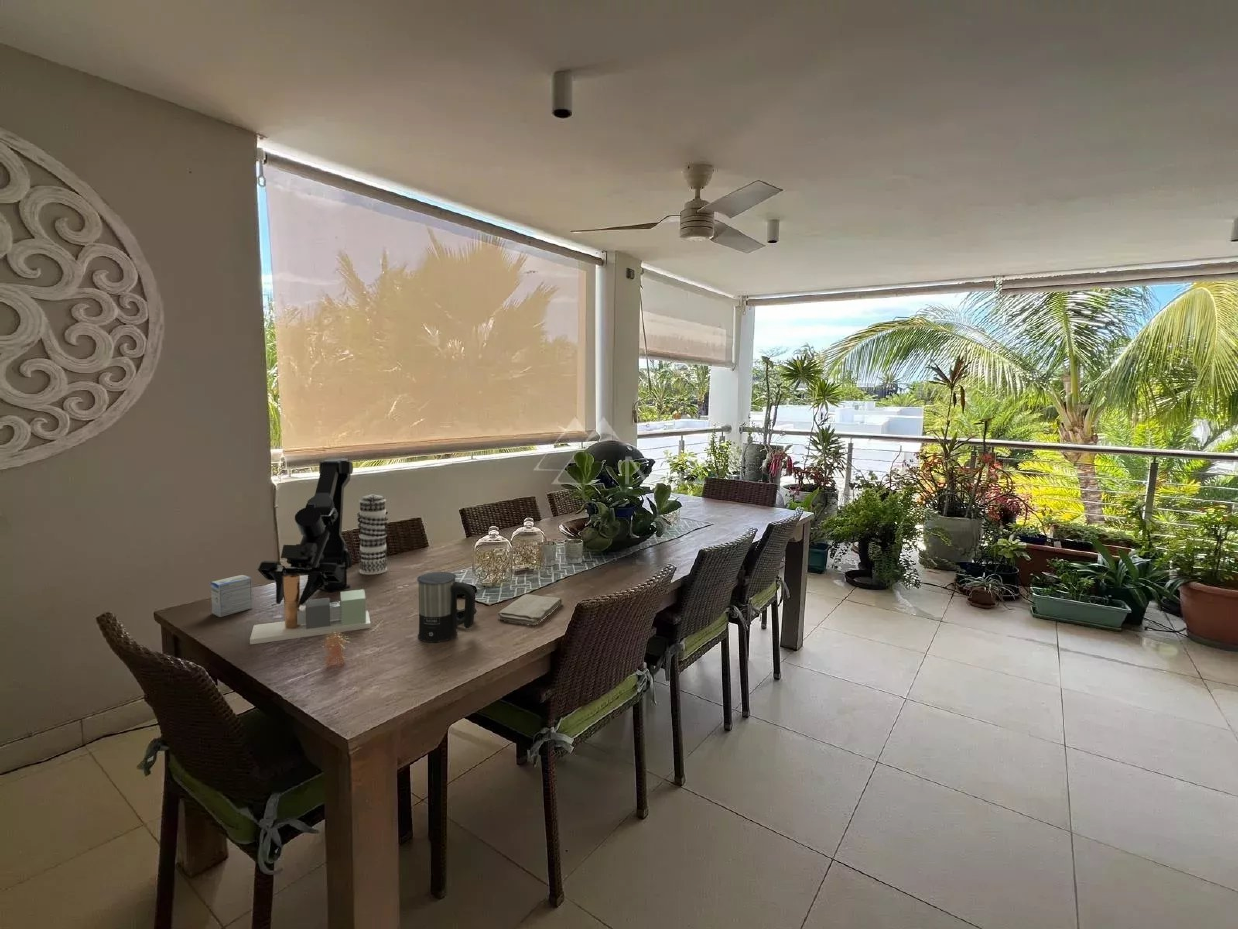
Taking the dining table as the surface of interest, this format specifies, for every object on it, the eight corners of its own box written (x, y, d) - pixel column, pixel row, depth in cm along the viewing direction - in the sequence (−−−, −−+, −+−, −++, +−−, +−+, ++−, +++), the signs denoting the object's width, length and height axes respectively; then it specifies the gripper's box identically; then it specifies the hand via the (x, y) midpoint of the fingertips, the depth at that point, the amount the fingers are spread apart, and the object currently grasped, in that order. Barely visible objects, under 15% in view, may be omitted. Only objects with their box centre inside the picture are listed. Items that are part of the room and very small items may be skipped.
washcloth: (495, 622, 150) (495, 611, 149) (524, 600, 167) (524, 590, 167) (537, 629, 147) (537, 617, 146) (562, 605, 164) (562, 595, 164)
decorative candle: (359, 567, 190) (358, 493, 187) (389, 565, 193) (388, 493, 190) (356, 575, 181) (354, 498, 178) (387, 574, 184) (386, 498, 181)
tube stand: (249, 644, 131) (248, 617, 130) (254, 629, 139) (253, 603, 138) (370, 627, 142) (370, 602, 142) (368, 615, 150) (367, 591, 149)
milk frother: (415, 644, 134) (415, 584, 132) (420, 619, 149) (420, 564, 147) (477, 640, 138) (478, 581, 136) (476, 615, 153) (476, 562, 151)
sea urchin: (292, 668, 121) (291, 634, 120) (346, 648, 131) (345, 617, 130) (323, 685, 114) (322, 649, 113) (377, 663, 124) (377, 630, 123)
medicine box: (244, 605, 154) (243, 574, 153) (253, 608, 152) (251, 577, 151) (211, 614, 147) (210, 581, 146) (220, 618, 145) (218, 585, 144)
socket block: (341, 625, 140) (341, 601, 139) (340, 615, 146) (340, 591, 146) (365, 622, 143) (365, 598, 142) (364, 612, 149) (363, 589, 148)
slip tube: (284, 628, 136) (282, 578, 135) (285, 623, 139) (283, 574, 138) (356, 619, 143) (355, 571, 142) (355, 614, 146) (355, 567, 145)
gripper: (260, 528, 139) (233, 587, 130) (337, 531, 140) (315, 590, 130) (280, 551, 148) (255, 607, 138) (352, 553, 149) (333, 610, 139)
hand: (289, 603), depth 136 cm, fingers open, 5 cm apart
